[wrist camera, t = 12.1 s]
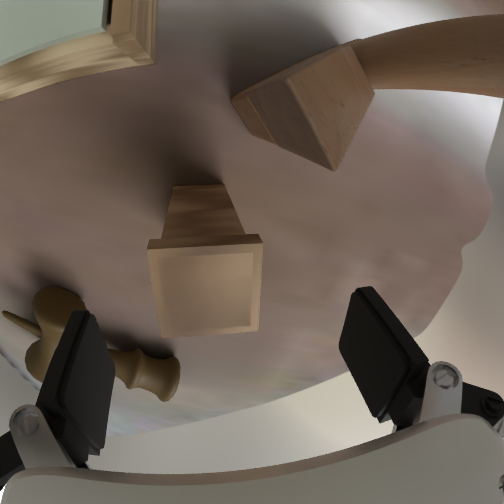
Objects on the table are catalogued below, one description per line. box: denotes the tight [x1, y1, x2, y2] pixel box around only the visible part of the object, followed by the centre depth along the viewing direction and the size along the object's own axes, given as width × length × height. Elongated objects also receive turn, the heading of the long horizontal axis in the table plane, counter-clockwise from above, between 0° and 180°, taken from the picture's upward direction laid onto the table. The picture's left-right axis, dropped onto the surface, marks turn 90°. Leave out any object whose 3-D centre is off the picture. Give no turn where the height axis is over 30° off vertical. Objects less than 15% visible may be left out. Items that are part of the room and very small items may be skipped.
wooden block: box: [231, 14, 504, 171], centre depth 13 cm, size 4×11×18 cm, turn 121°
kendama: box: [2, 286, 180, 402], centre depth 25 cm, size 6×10×20 cm
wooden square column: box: [147, 184, 263, 338], centre depth 18 cm, size 5×5×12 cm
